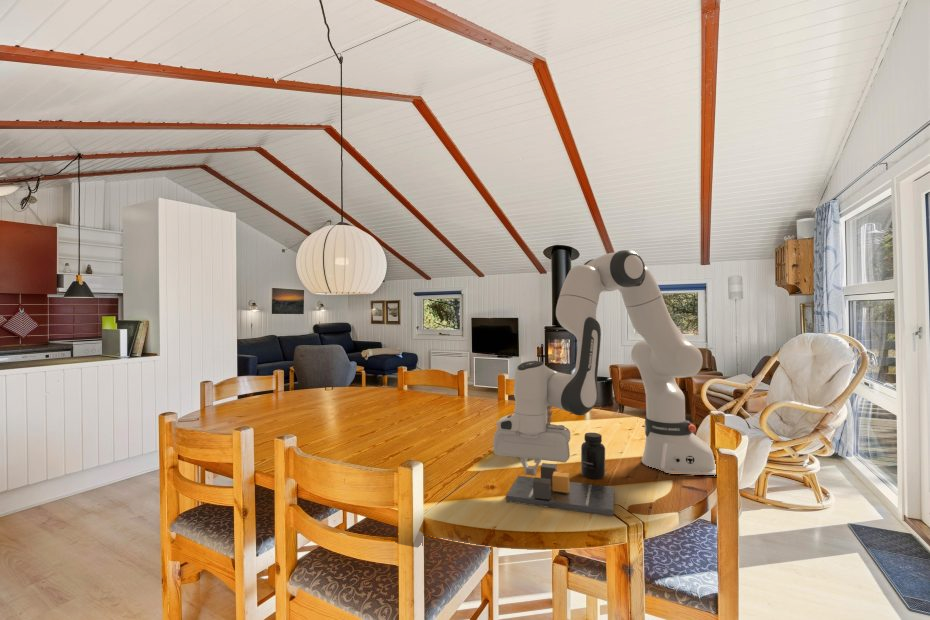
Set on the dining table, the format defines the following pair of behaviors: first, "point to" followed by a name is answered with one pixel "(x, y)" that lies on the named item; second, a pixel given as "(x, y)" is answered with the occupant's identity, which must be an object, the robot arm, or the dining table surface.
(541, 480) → the toggle
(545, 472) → the toggle
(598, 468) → the supplement bottle
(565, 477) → the toggle
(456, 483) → the dining table surface
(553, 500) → the panel
